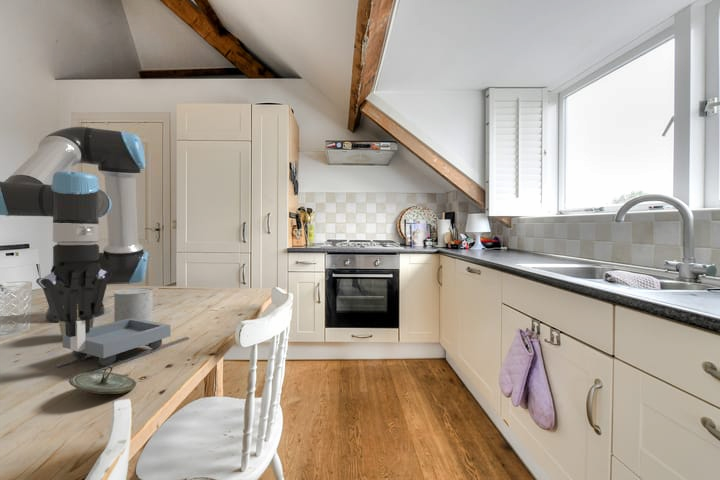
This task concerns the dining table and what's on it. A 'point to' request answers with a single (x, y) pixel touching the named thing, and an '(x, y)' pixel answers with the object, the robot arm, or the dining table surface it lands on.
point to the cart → (120, 338)
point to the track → (121, 359)
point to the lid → (103, 382)
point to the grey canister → (134, 304)
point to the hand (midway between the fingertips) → (78, 349)
